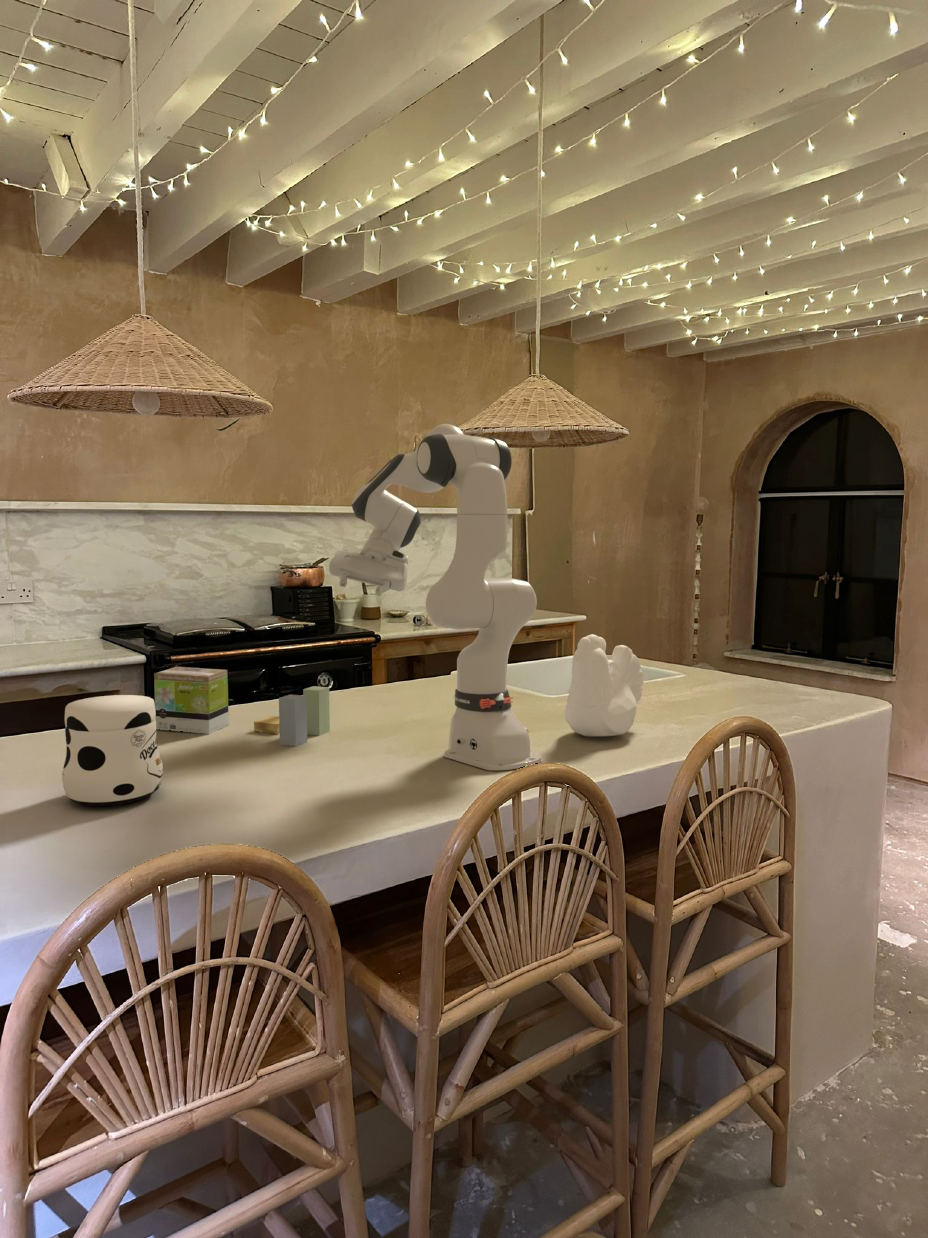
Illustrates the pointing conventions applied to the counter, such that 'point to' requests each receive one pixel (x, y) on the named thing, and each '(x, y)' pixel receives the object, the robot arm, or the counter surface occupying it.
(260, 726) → the ochre slab
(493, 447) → the robot arm
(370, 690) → the counter surface
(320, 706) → the green block
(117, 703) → the spotted treat jar
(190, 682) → the tea box
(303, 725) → the slate block
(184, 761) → the counter surface
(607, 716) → the decorative rooster
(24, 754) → the counter surface
